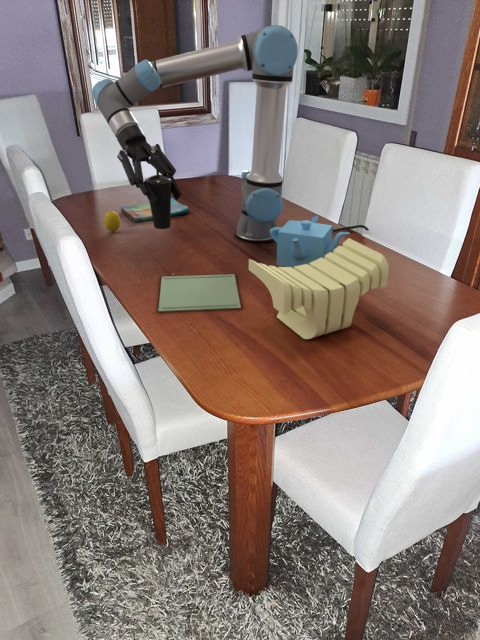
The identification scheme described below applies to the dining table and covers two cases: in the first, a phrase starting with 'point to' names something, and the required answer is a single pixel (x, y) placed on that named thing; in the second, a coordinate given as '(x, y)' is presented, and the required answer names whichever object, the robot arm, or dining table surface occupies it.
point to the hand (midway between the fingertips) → (167, 200)
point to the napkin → (198, 293)
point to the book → (144, 210)
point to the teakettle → (303, 242)
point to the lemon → (112, 221)
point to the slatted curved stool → (323, 288)
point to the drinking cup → (161, 199)
